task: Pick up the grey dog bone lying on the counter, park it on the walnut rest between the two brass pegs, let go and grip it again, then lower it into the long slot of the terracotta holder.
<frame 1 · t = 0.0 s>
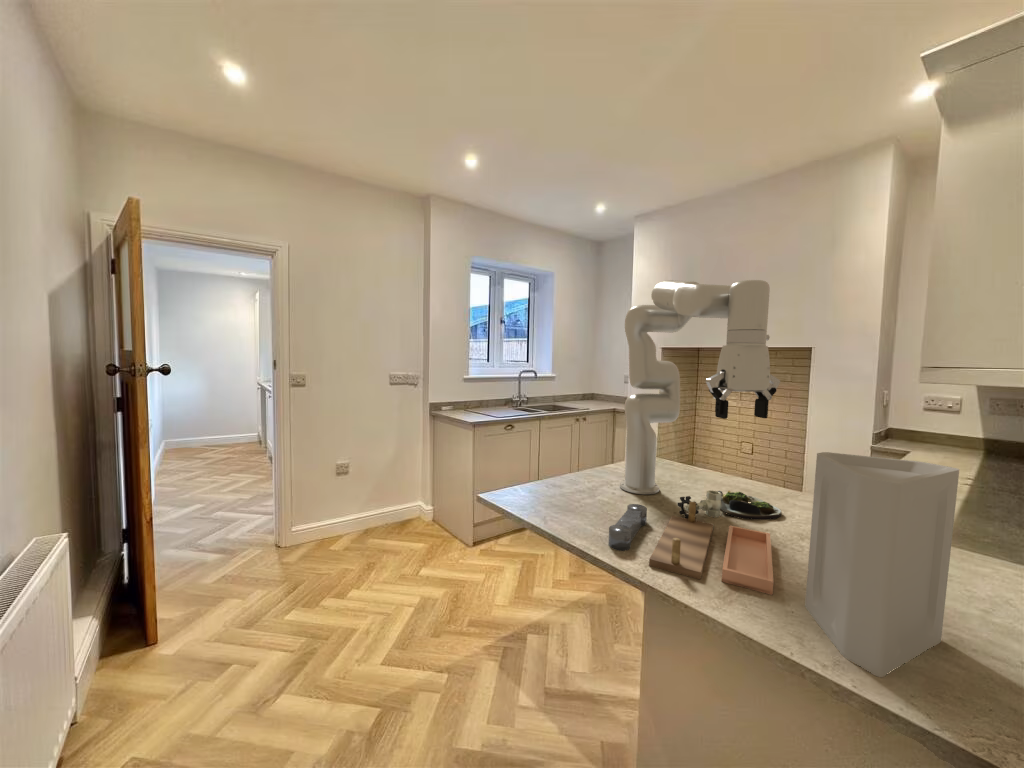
hand: (741, 417, 91), 31 cm above the counter, tool pointing down, fingers open, 9 cm apart
paper bag: (856, 629, 69), on the counter
slot holder: (747, 561, 91), on the counter
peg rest: (684, 545, 98), on the counter
valve: (702, 517, 115), on the counter
salad plate: (743, 511, 122), on the counter
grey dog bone: (628, 533, 104), on the counter
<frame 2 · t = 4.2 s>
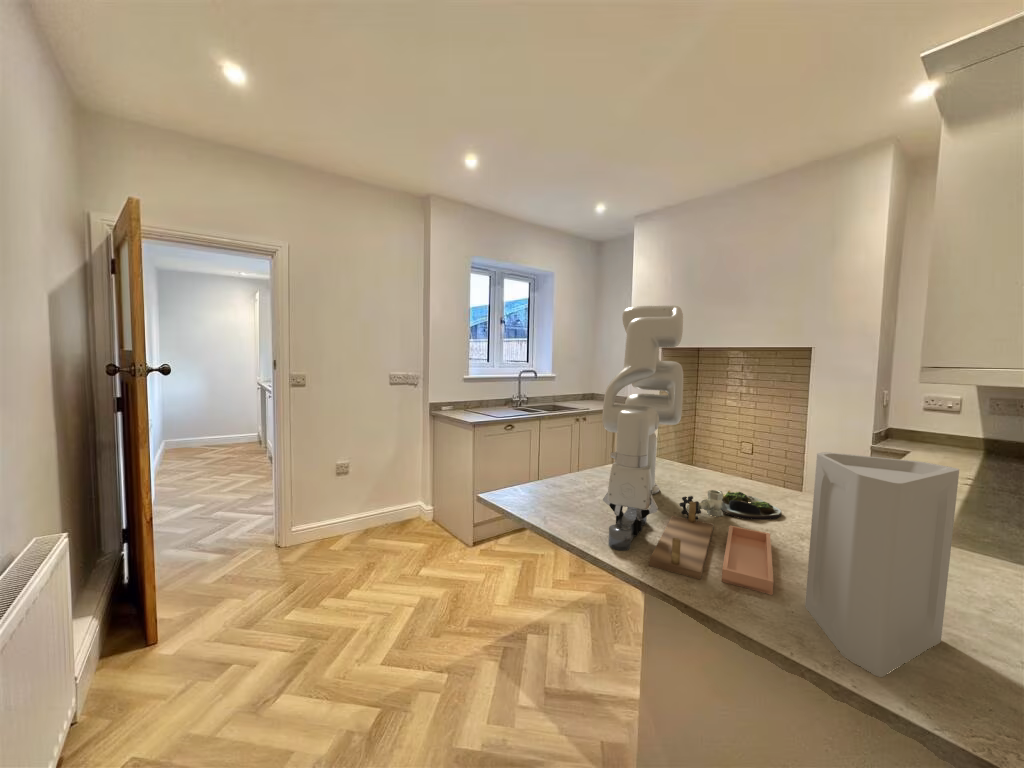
hand: (628, 531, 104), 0 cm above the counter, tool pointing down, fingers closed on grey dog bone, 3 cm apart
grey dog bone: (628, 532, 104), on the counter, touching gripper
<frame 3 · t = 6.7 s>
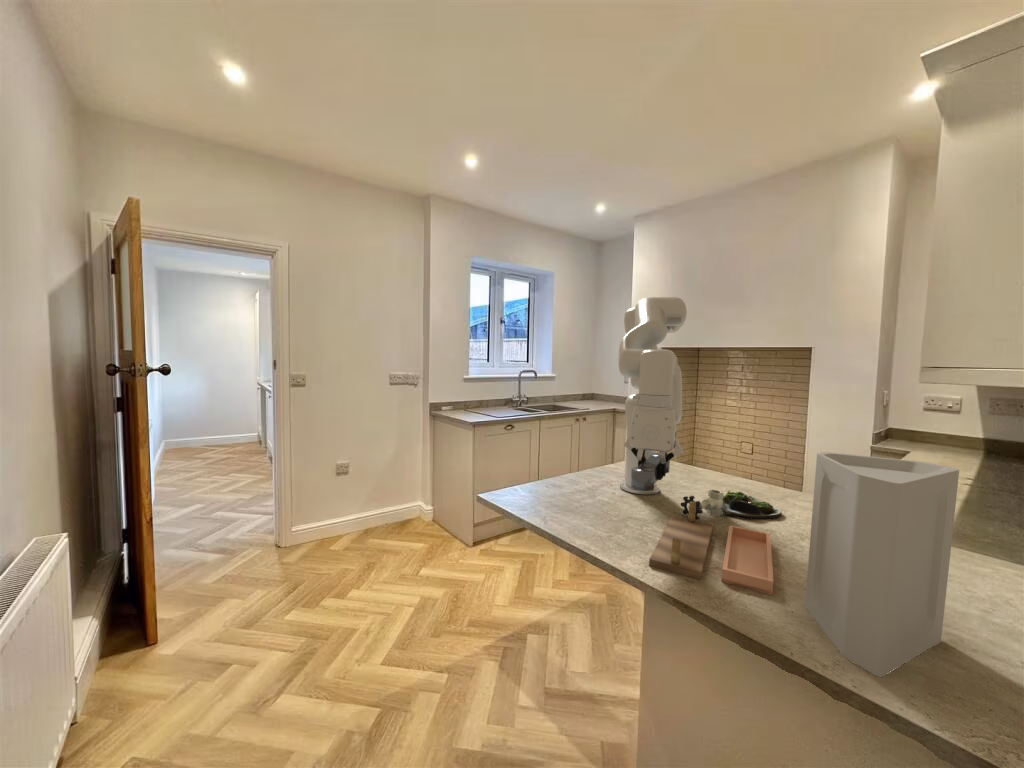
hand: (651, 476, 100), 15 cm above the counter, tool pointing down, fingers closed on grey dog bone, 3 cm apart
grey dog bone: (651, 478, 100), point 15 cm above the counter, touching gripper
when the fingers open (3 cm above the counter, at t = 9.7 s): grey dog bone drops 1 cm, resting on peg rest.
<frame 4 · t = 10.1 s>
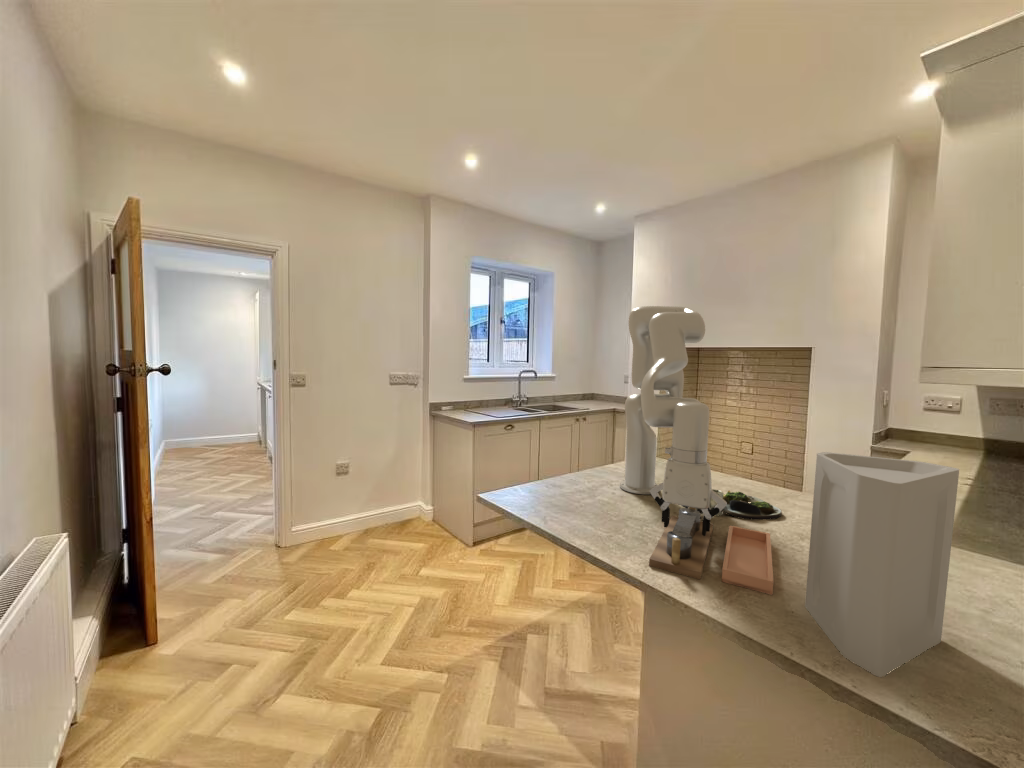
hand: (685, 529, 97), 4 cm above the counter, tool pointing down, fingers open, 7 cm apart
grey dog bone: (684, 539, 98), point 1 cm above the counter, touching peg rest
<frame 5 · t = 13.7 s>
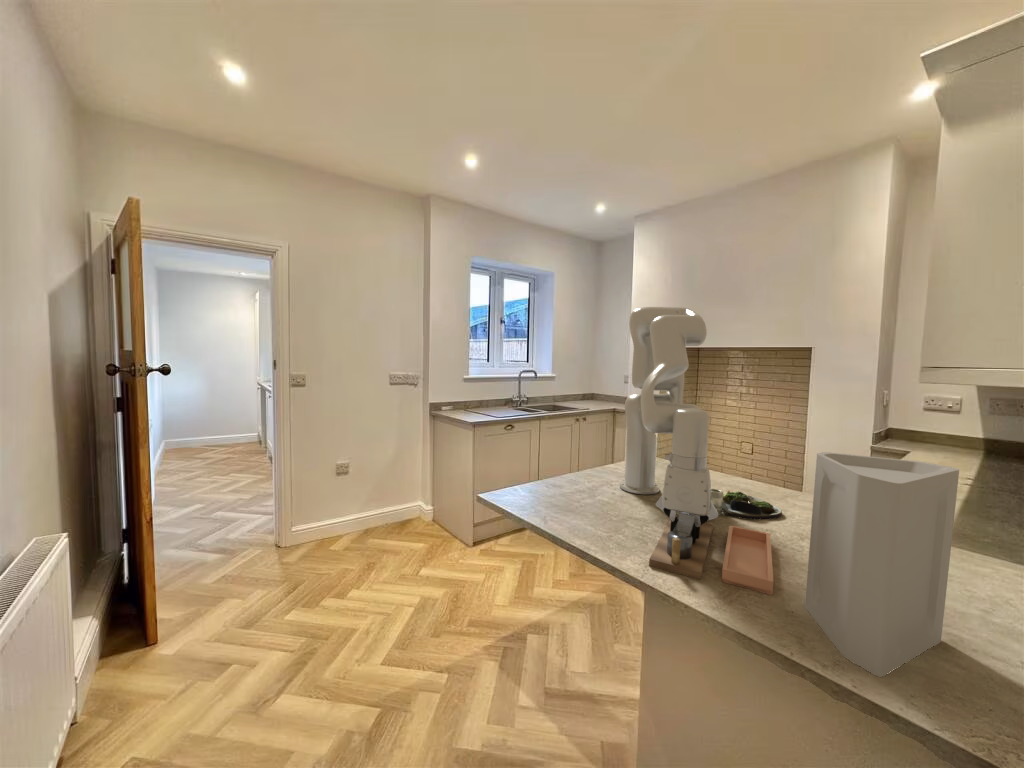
hand: (684, 537, 97), 2 cm above the counter, tool pointing down, fingers closed on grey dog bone, 3 cm apart
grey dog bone: (684, 539, 97), point 2 cm above the counter, touching gripper
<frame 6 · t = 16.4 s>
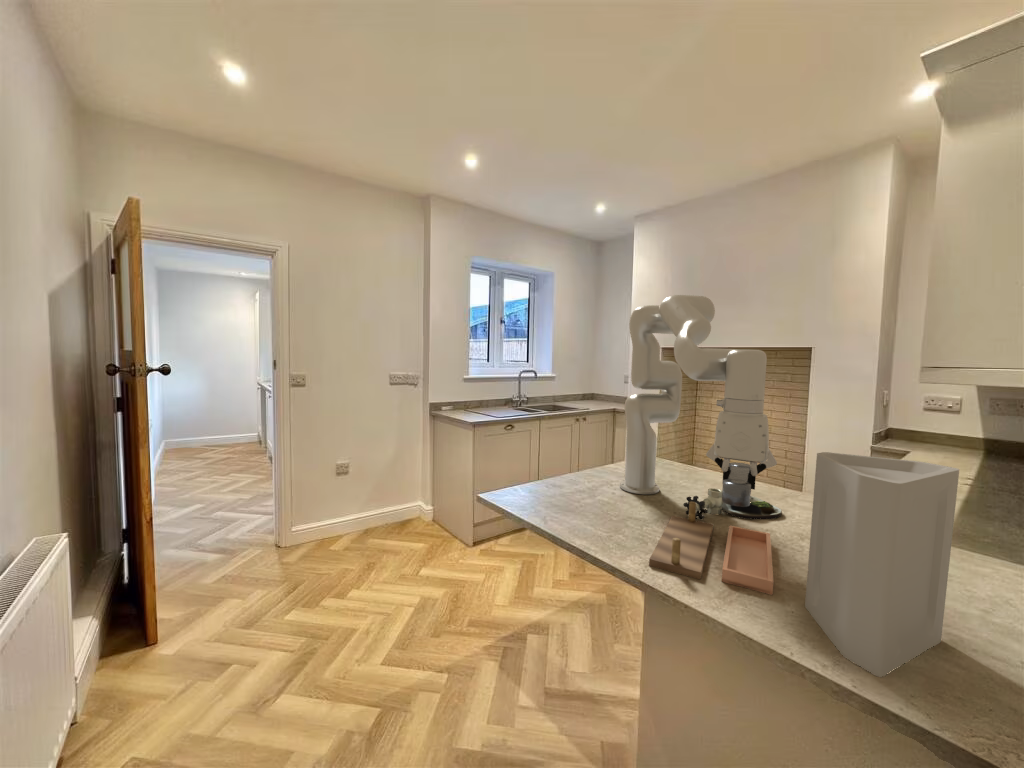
hand: (738, 489, 91), 16 cm above the counter, tool pointing down, fingers closed on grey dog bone, 3 cm apart
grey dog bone: (738, 491, 91), point 15 cm above the counter, touching gripper
when the fingers open (2 cm above the counter, at t = 19.3 s): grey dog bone drops 1 cm, resting on slot holder.
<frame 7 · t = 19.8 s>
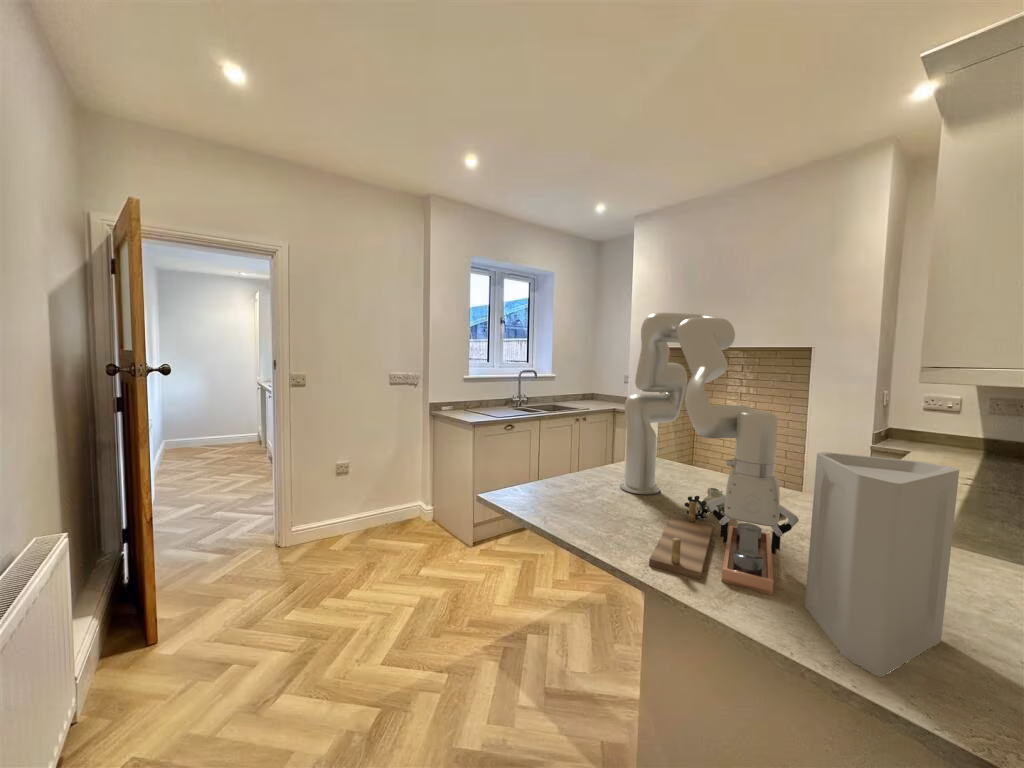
hand: (748, 545, 91), 3 cm above the counter, tool pointing down, fingers open, 8 cm apart
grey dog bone: (747, 558, 91), point 1 cm above the counter, touching slot holder
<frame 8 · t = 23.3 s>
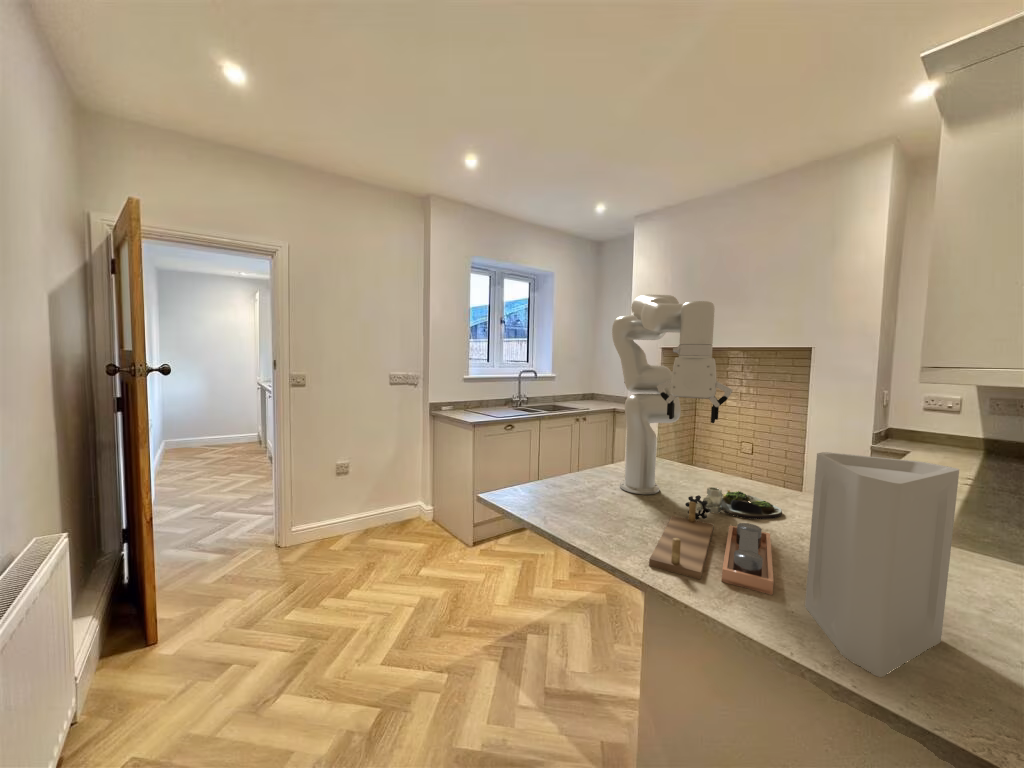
hand: (691, 420, 104), 28 cm above the counter, tool pointing down, fingers open, 9 cm apart
at the end: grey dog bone 0.1 cm off-centre on the slot holder, point 0.6 cm above the slot holder's base; the gripper is holding nothing; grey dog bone moved 26.0 cm from its start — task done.
